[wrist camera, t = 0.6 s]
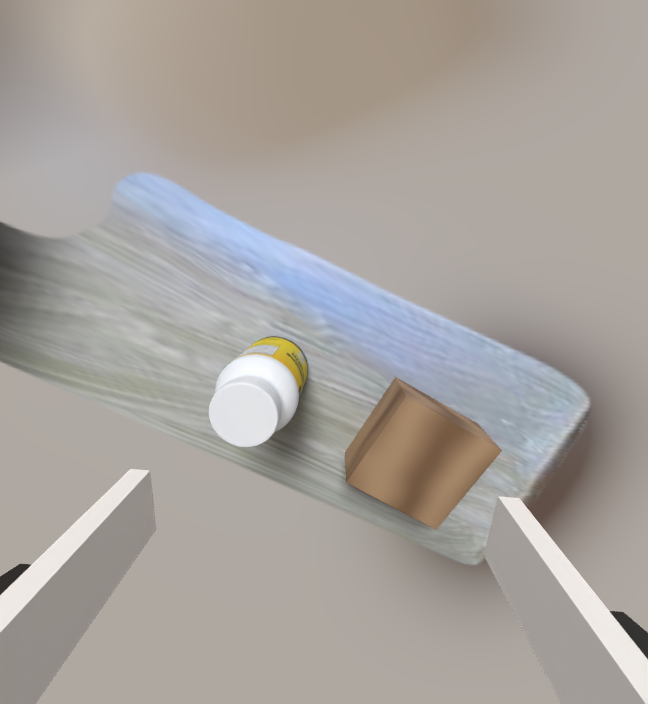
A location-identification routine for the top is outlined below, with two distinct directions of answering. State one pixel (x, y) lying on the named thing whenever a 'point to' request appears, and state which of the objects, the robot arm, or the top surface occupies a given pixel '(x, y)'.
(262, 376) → the pill bottle
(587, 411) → the top surface
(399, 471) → the walnut block
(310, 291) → the top surface
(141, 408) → the top surface
